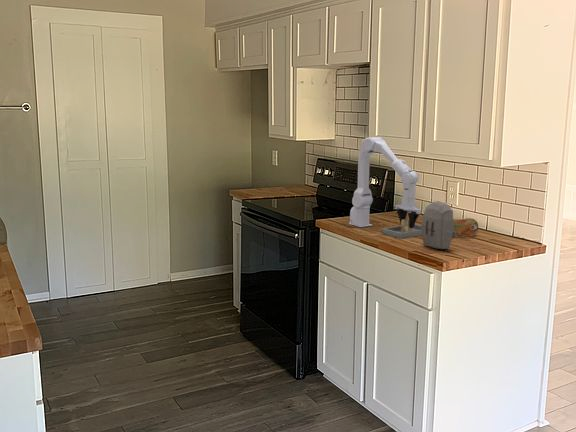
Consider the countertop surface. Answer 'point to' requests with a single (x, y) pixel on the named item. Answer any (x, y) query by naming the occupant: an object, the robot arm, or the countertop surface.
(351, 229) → the countertop surface
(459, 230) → the tin
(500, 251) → the countertop surface
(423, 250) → the countertop surface
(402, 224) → the block
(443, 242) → the grey rounded bag
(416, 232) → the tray
